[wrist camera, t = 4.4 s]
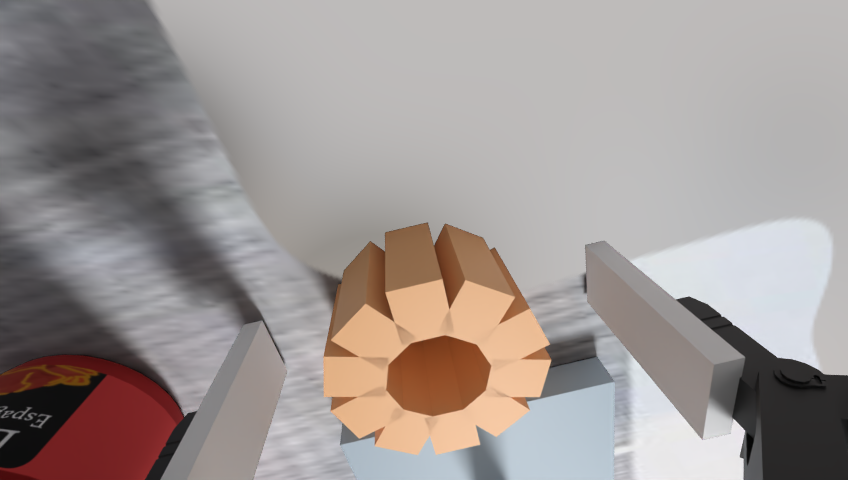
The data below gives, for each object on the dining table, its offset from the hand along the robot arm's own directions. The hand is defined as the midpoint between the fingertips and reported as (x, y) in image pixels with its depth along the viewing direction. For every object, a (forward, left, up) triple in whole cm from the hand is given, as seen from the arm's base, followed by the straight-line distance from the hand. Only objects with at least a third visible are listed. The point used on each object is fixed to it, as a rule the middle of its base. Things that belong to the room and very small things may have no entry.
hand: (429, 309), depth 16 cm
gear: (0, 0, 0) cm, 0 cm away
